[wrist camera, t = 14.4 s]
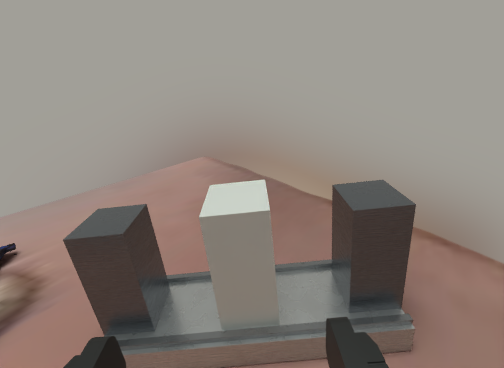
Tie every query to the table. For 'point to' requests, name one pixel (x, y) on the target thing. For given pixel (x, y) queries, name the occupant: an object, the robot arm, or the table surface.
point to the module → (241, 254)
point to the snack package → (7, 249)
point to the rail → (287, 280)
